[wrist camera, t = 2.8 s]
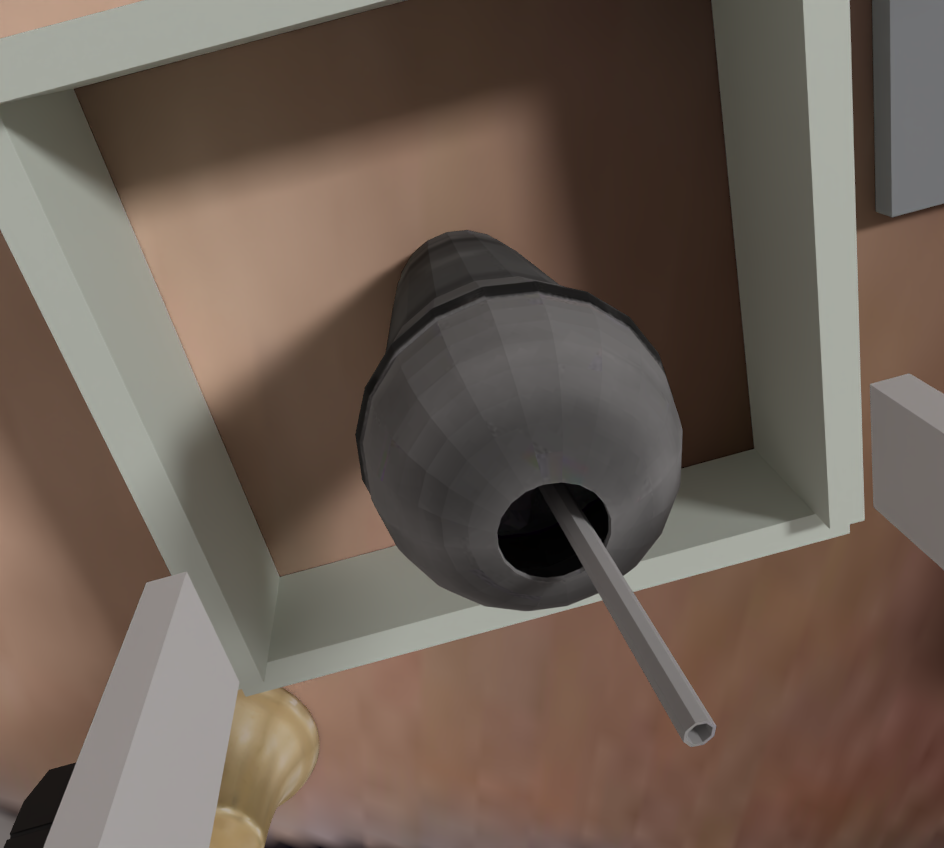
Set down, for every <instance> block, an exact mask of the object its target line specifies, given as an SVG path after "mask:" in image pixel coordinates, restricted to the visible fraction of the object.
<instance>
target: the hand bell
mask: <svg viewBox="0 0 944 848" xmlns="http://www.w3.org/2000/svg"><path fill="white" fill-rule="evenodd" d="M318 754H319V736H318V731H317V727H316V724H315V722H314V720H313V718H312V716H311V714H310V712H309V711H308V709H307V708H306V707H305V706H304V705H303V704H302V703H301V702H300V701H299V700H298V699H297V698H296V697H295V696H293V695H292V694H291V693H289V692H288V691H286V690H285V689H283V688H281V687H280V688H277V689H273V690H269V691H266V692H262V693H258V694H254V695H251V696H247V697H245V695H244V692H243V690H242V689H240V690H238V693H237V698H236V704H235V709H234V715H233V720H232V726H231V731H230V737H229V742H228V748H227V753H226V758H225V764H224V769H223V775H222V780H221V786H220V791H219V797H218V802H217V808H216V813H215V819H214V824H213V830H212V835H211V840H210V846H209V848H264V846H265V842H266V837H267V833H268V830H269V826H270V823H271V820H272V818H273V815H274V813H275V810H276V808H277V807H278V806H280V805H282V804H283V803H285V802H286V801H287V800H289V799H290V798H291V797H292V796H294V795H295V794H296V793H297V792H298V790H299V789H300V788H301V787H302V786H303V785H304V783H305V782H306V781H307V779H308V778H309V776H310V775H311V773H312V771H313V769H314V767H315V765H316V762H317V759H318Z"/></svg>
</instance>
